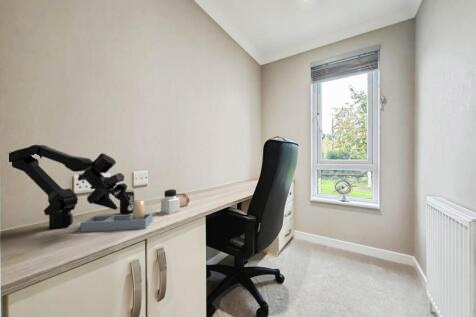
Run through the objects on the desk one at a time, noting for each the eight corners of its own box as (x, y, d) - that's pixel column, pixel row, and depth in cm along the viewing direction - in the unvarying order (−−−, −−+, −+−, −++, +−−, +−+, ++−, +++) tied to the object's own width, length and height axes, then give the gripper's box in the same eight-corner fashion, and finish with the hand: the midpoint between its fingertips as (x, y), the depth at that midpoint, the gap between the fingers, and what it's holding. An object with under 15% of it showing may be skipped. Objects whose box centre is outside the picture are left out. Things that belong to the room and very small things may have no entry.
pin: (135, 226, 78) (135, 202, 78) (131, 224, 81) (131, 201, 81) (146, 223, 81) (146, 200, 82) (141, 221, 84) (141, 199, 84)
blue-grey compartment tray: (80, 231, 75) (80, 222, 75) (94, 224, 83) (94, 216, 83) (145, 228, 78) (145, 219, 78) (152, 221, 86) (152, 213, 86)
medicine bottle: (180, 211, 103) (180, 189, 103) (169, 214, 97) (169, 191, 97) (171, 209, 107) (171, 188, 107) (160, 212, 101) (160, 190, 101)
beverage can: (123, 215, 95) (123, 192, 95) (117, 213, 99) (117, 191, 99) (136, 212, 101) (136, 190, 101) (130, 210, 105) (130, 189, 105)
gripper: (95, 168, 72) (124, 197, 72) (123, 166, 90) (146, 189, 91) (73, 189, 71) (103, 217, 72) (106, 182, 90) (129, 205, 90)
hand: (123, 206), depth 81 cm, fingers open, 9 cm apart
